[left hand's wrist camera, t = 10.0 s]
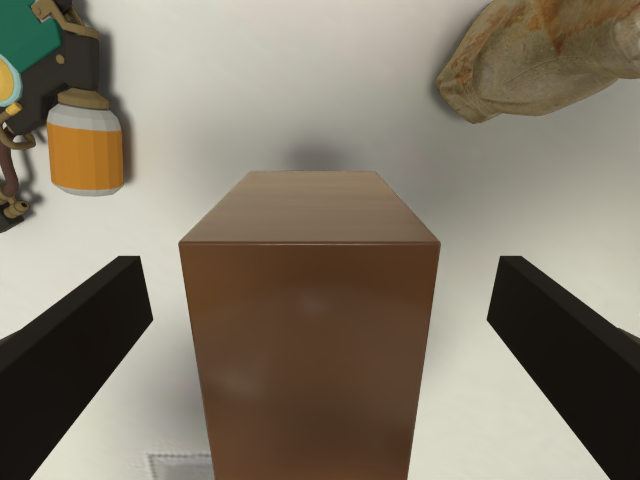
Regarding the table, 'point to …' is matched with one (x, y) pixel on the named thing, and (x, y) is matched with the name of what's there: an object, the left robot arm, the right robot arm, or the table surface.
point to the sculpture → (541, 56)
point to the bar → (310, 325)
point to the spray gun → (37, 97)
